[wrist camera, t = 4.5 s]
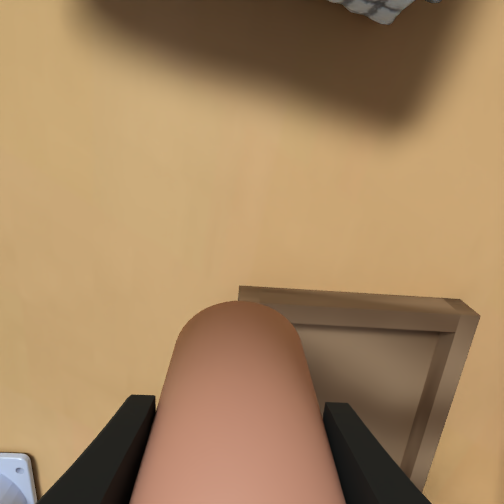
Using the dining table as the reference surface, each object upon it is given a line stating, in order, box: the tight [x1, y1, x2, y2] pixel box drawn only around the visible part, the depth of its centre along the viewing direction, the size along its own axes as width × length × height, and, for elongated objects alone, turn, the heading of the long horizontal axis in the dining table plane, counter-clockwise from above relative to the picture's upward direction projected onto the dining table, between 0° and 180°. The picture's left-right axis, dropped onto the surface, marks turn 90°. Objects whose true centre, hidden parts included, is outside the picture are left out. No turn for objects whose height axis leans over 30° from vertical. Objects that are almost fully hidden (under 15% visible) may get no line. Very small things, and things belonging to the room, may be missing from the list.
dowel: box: [129, 301, 346, 504], centre depth 8 cm, size 4×4×9 cm
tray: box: [238, 286, 480, 493], centre depth 21 cm, size 14×12×2 cm
